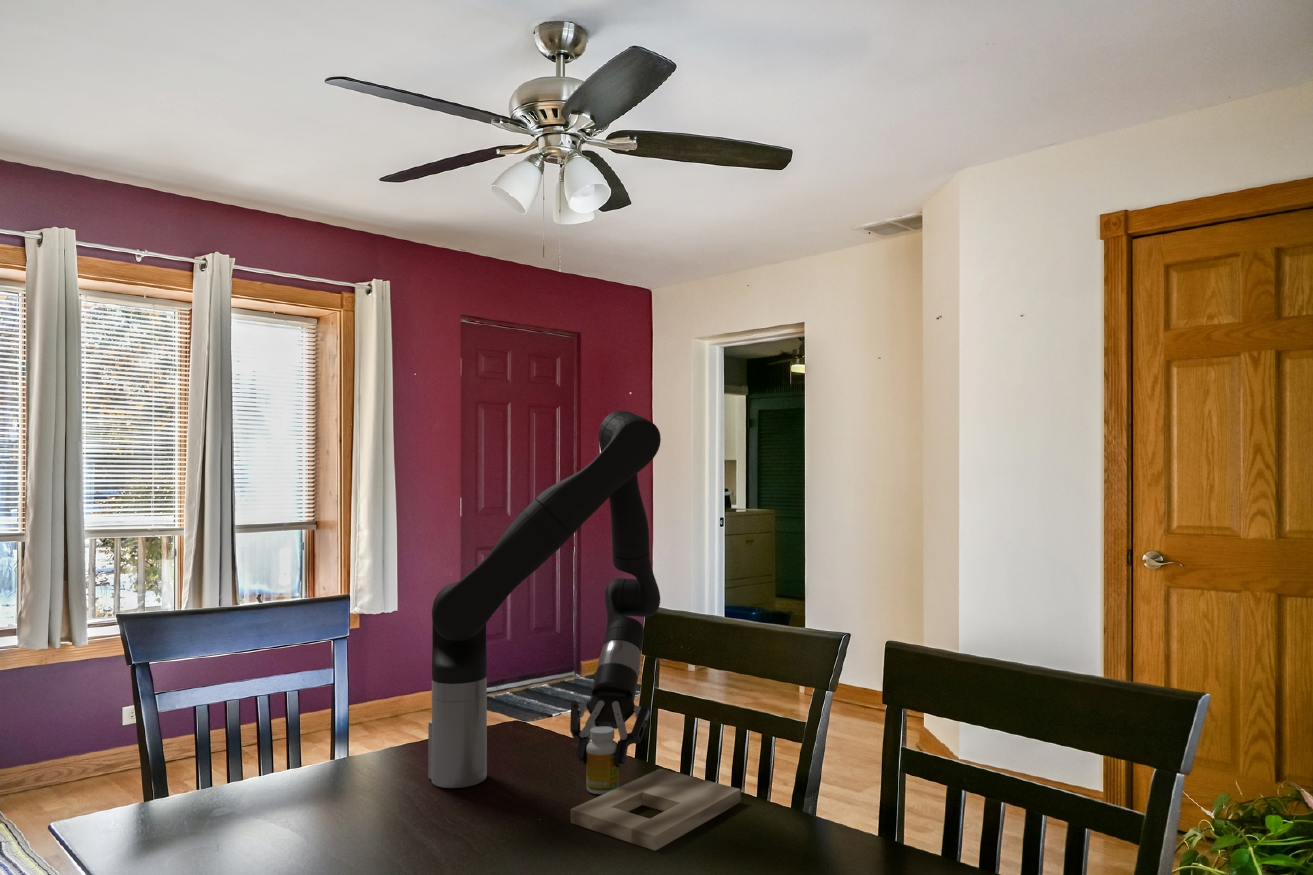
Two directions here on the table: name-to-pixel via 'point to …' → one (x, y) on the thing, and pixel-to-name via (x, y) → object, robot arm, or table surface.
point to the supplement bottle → (601, 761)
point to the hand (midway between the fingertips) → (599, 763)
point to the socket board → (662, 791)
